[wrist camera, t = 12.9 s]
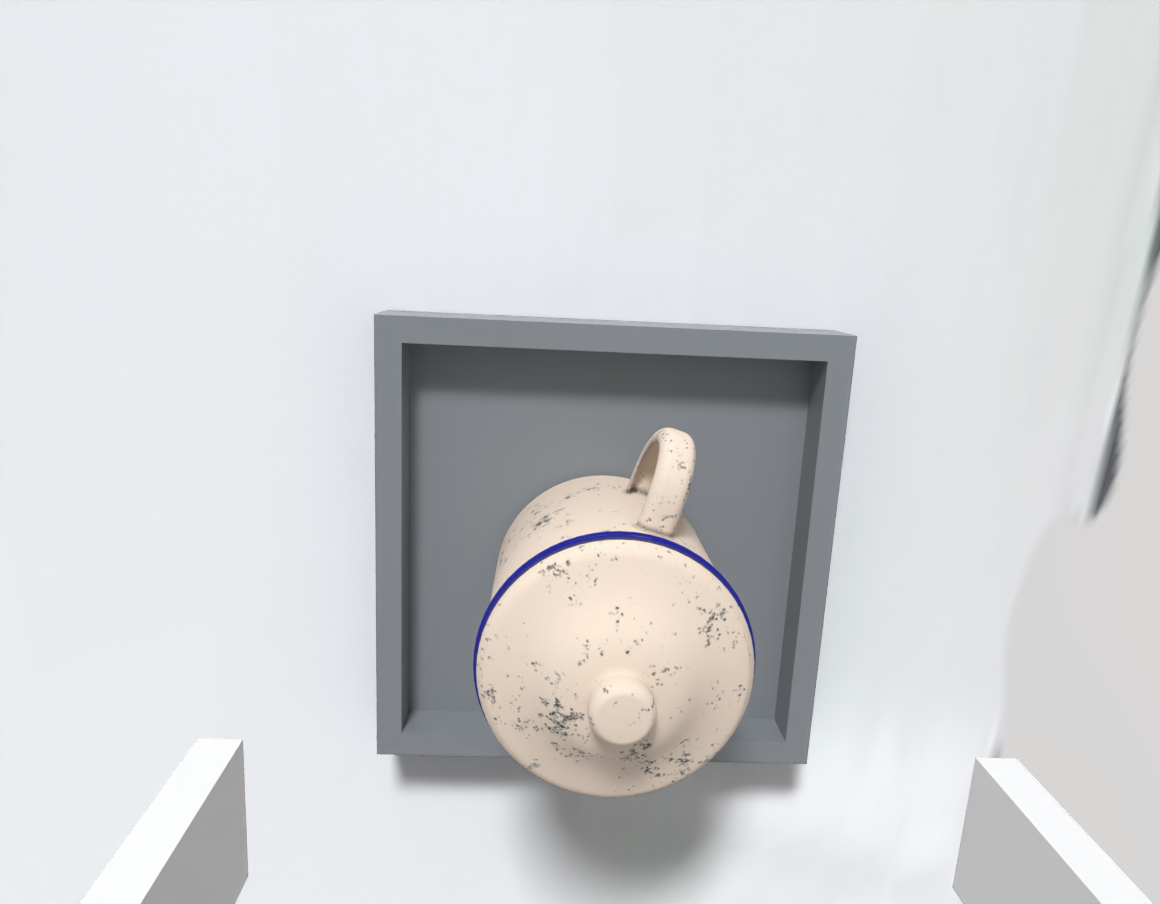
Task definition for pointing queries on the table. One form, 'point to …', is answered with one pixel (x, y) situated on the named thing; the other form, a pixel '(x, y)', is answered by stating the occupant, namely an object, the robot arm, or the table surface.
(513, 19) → the table surface
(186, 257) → the table surface
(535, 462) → the tray
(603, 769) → the teacup with lid
